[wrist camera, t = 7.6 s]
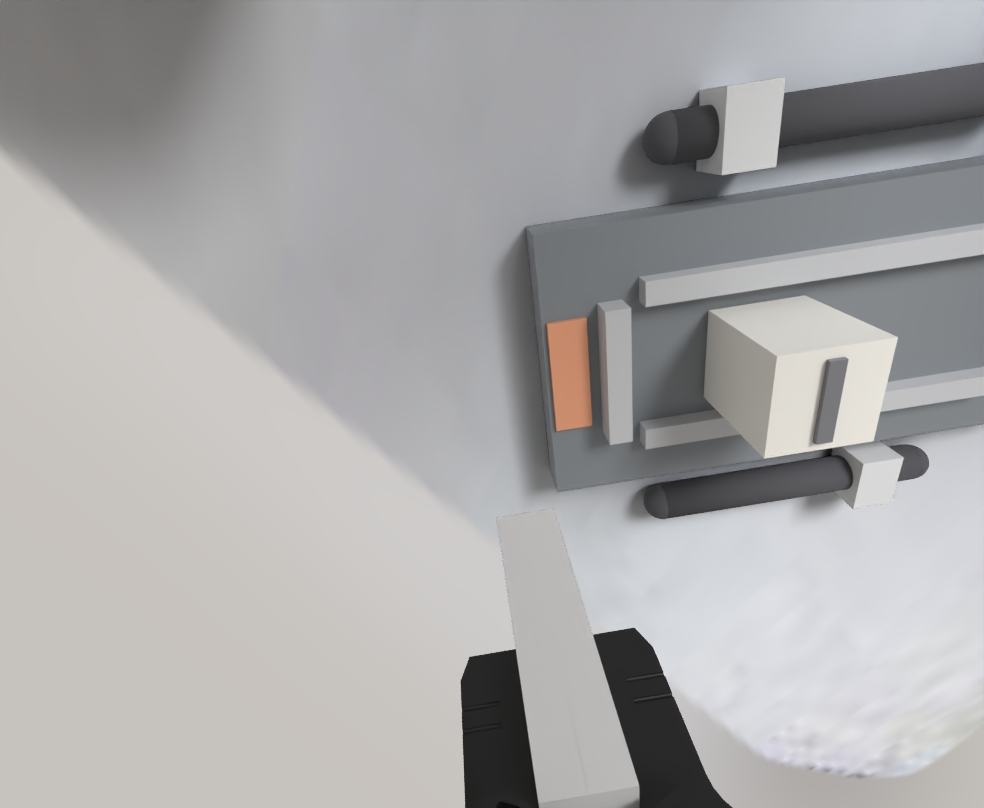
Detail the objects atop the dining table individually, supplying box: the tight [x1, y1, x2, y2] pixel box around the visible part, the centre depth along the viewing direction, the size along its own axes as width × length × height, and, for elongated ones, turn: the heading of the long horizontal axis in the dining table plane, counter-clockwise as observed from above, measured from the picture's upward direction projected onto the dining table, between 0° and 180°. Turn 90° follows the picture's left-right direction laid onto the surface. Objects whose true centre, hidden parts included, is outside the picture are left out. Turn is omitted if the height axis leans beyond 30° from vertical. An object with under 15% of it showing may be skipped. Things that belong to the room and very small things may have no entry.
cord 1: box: [643, 63, 984, 175], centre depth 19 cm, size 3×15×2 cm, turn 98°
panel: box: [526, 156, 984, 492], centre depth 23 cm, size 12×24×3 cm, turn 98°
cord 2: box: [644, 441, 929, 519], centre depth 27 cm, size 3×15×2 cm, turn 98°
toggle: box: [704, 295, 898, 459], centre depth 20 cm, size 4×4×5 cm
